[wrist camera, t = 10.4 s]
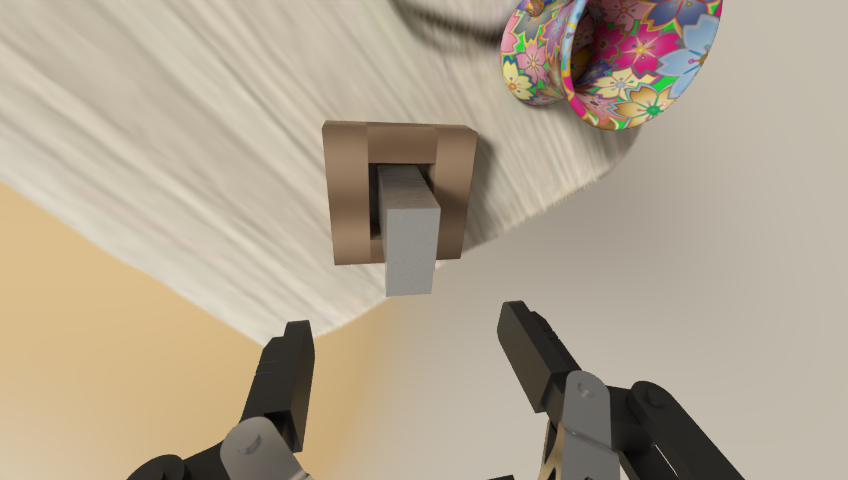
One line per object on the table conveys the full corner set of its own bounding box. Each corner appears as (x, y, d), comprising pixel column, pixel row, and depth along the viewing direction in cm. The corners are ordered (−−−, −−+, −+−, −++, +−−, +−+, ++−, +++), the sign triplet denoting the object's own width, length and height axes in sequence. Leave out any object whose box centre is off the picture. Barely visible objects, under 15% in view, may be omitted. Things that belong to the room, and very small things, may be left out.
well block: (325, 120, 26) (321, 128, 23) (464, 125, 28) (477, 132, 25) (336, 246, 31) (334, 265, 28) (450, 241, 34) (460, 258, 31)
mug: (615, 36, 27) (749, 23, 18) (539, 129, 29) (621, 159, 20) (524, -89, 21) (648, -199, 12) (443, 38, 24) (495, 24, 15)
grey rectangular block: (377, 164, 28) (387, 209, 20) (415, 165, 29) (440, 208, 20) (378, 236, 32) (386, 300, 23) (412, 235, 32) (432, 296, 24)
